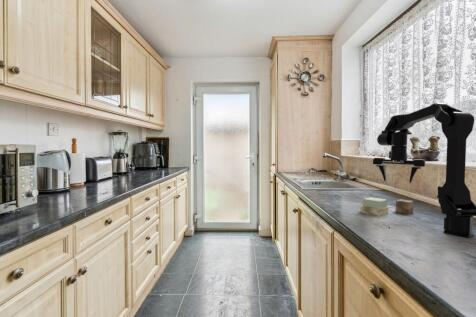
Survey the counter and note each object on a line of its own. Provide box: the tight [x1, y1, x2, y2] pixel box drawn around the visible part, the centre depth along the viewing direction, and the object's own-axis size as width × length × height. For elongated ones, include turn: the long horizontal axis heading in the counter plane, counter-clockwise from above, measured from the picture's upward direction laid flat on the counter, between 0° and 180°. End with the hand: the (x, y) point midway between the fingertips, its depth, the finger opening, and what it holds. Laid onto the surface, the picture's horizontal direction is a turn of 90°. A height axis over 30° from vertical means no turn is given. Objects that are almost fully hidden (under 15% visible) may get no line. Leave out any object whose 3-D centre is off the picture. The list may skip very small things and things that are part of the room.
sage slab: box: [362, 196, 388, 209], centre depth 116 cm, size 7×7×3 cm
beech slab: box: [359, 204, 389, 217], centre depth 115 cm, size 8×8×3 cm
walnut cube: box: [395, 198, 415, 215], centre depth 117 cm, size 5×5×5 cm
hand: (397, 182), depth 115 cm, fingers open, 9 cm apart
